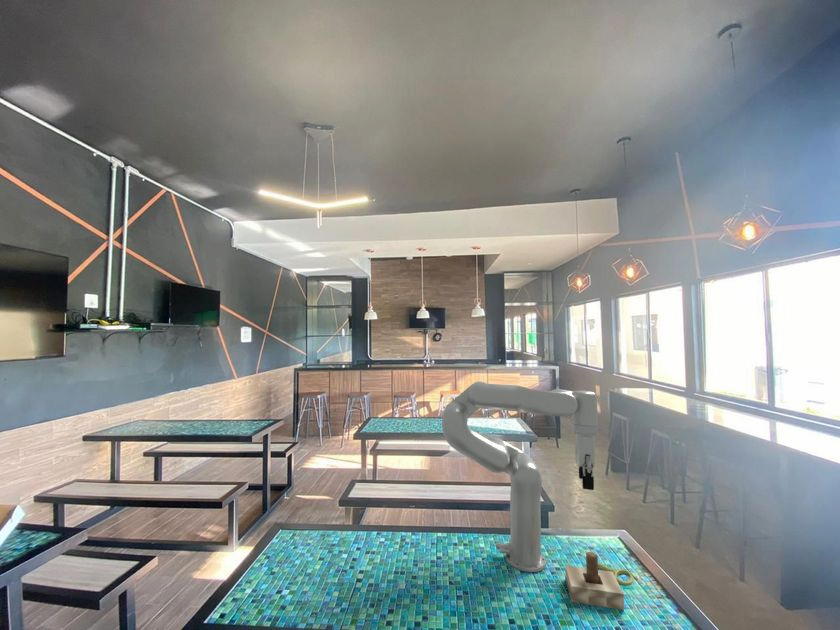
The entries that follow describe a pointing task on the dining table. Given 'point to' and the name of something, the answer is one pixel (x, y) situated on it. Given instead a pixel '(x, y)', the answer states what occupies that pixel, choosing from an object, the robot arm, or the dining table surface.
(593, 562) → the walnut peg
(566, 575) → the maple hole block
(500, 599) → the dining table surface
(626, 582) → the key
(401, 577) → the dining table surface
